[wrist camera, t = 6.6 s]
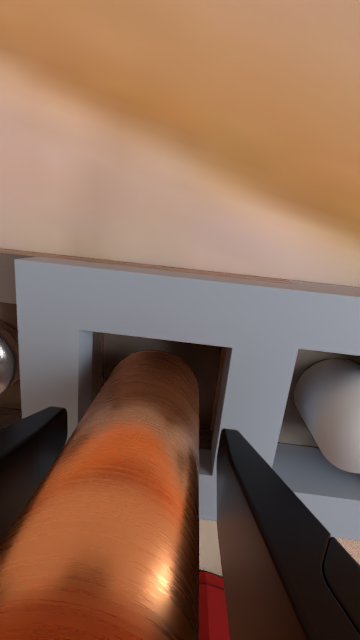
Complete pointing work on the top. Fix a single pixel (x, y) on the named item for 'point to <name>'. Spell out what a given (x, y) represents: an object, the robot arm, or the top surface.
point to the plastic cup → (212, 608)
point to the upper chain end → (239, 367)
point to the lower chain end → (3, 338)
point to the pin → (114, 518)
